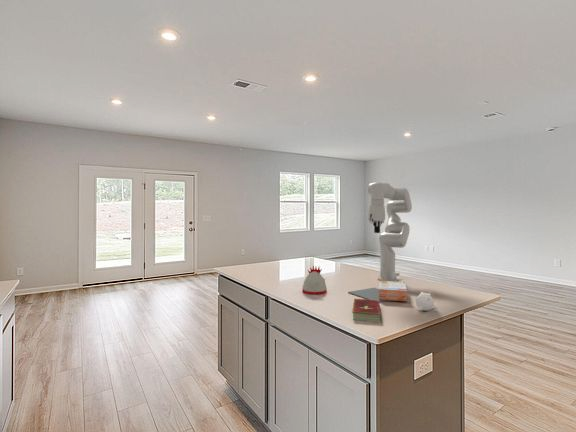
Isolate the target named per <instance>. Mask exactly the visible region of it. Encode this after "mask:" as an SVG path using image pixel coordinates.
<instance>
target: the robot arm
mask: <svg viewBox="0 0 576 432" xmlns="http://www.w3.org/2000/svg"><path fill="white" fill-rule="evenodd" d="M367 194H369V195H370V205H369V208H368V221H369V223H370V224H372V225H373V228H374V231H373V233H374V234H380V233H381V226H382V224H384V223H385V221H386V215H387V218H388V219H387V222H386V225H385V227H384V232H382V233H381V234H380V235H379V236H378V243H379V251H380V253H379V254H380V255H379V256H380V262H379V263H380V264H379V265H380V266H379V267H380V268H379V270H380V271H379V276H378V277H377V280H378V281H397V282H398V278H397V277H399V276H400V272H396V252H395V250H394V249H393V248H397V249H398V248H399V249H402V248H405V247H406V245H407V242H408V240H409V235H410V229H411V227H410V225H409V223H408V222H403V221H402V220H401V217H400V216H399V215H398V214H399V213H405V214H407V213H411V211H412V209H413V206H412V205H413V203H412V200H411V196H410V193H409V190H408V189H407V188H405V187H399V188H398V187H393V186H391V184H390V183H388V182H372V183H369V185H368V186H367ZM385 199H387V200H390V201H389V202H387V204H386V207H385V204H384V203H385ZM385 208H386V210H385ZM386 213H387V214H386Z"/></svg>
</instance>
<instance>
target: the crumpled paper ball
mask: <svg viewBox="0 0 576 432" xmlns="http://www.w3.org/2000/svg"><path fill="white" fill-rule="evenodd" d="M415 305H416V307H417V309H418V310H419V311H420V312H421V311H424V312H427V311H430V310H432V309H433V308H434V309H435V310H437V309H438V306H437V305H435V302H434V299H433V297H432V295H431V292H429V293H427V292H423V291H422V292H420V294H418V295H417V297H416V298H415Z"/></svg>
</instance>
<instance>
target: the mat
mask: <svg viewBox="0 0 576 432" xmlns="http://www.w3.org/2000/svg"><path fill="white" fill-rule="evenodd" d="M347 293H348V294H350V295H353V296H356V297H359V298H360V299H368V300H379V288H377V287H370V288H363V289H357V290H351V291H348V292H347ZM388 301H390V300H379V303H383V302H388Z"/></svg>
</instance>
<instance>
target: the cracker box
mask: <svg viewBox="0 0 576 432" xmlns="http://www.w3.org/2000/svg"><path fill="white" fill-rule="evenodd" d="M378 289H379V300H389V301H397V302H398V301H399V302H408V289H407V285H406V282H405V281H398V280H397V281H381V280H378Z"/></svg>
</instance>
